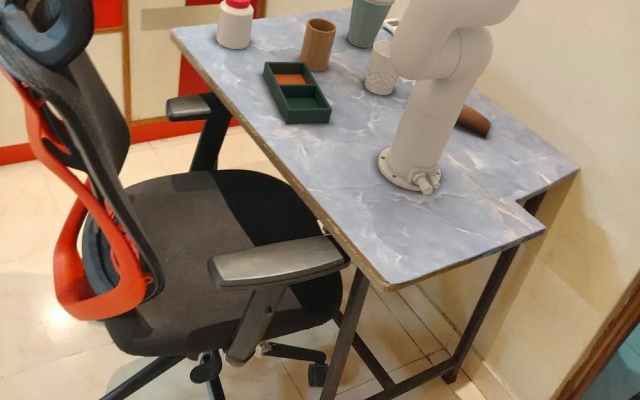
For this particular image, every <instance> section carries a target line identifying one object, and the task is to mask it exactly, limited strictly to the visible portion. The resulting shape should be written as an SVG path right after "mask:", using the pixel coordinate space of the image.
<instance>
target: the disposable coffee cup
mask: <svg viewBox="0 0 640 400" xmlns="http://www.w3.org/2000/svg"><path fill="white" fill-rule="evenodd" d="M395 1H396V0H352V4H351V10H350V11H351V12H350V17H349V18H350V19H349V26H348V33H347V38H348V40H347V41H348V42H349V43H351V44H352V45H353V46H355V47H358V48H363V49H364V48H367V49H368V48H370V47H371V46H373V44H374V43H375V40H376V38H377V36H378V35H379V32H380V31H381V28H382V26H383V24H384V22H385V20H386V18H387V16H388V14H389V12H390V10H391V8H392V6H393V5H394V4H395Z"/></svg>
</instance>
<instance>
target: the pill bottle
mask: <svg viewBox="0 0 640 400" xmlns="http://www.w3.org/2000/svg"><path fill="white" fill-rule="evenodd" d="M218 8H219V9H218V16H217V17H218V19H217V28H216V41H217V43H218V44H219V45H220V46H222V47H225V48H226V49H231V50H243V49H246V48H247V47H249V45H250V43H251V42H250V41H251V35H252V27H253V20H254V13H255V10H254V7H253V6H252V4H251V0H222V1H221V2H220V3H219V7H218Z"/></svg>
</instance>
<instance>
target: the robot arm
mask: <svg viewBox="0 0 640 400" xmlns="http://www.w3.org/2000/svg"><path fill="white" fill-rule="evenodd" d="M520 2H521V0H409V2H408V3H407V6H406V8H405V9H404V12H403V14H402V16H401V18H400V20H399V22H398V24H397V26H396V28H395V30H394V33H393V35H392V37H391V38H392V39H391V40H390V41H391V46H390V61H391V65H392V67H393V69H394V71H395V72H396V73H397V74H398V75H399V77H400V78H402V79H403V80H407V81H415V82H414V84H413V86H412V88H411V90H410V94H409V95H408V99H407V100H406V101H407V102H406V103H405V107H404V109H403V112H402V115H401V118H400V121H399V123H398V126H397V129H396V131H395V134H394V137H393V140H392V143H391V145H390V146H388V147H386V148H384V149H383V150H381V152H380V153H379V154H378V155H379V156H378V158H377V166H378V169H379V171H380V173H381V174H382V175H383V176H384V178H386V180H388V182H391V183H392V184H393V185H395V186H398V187H400V188H402V189H404V190H409V191H415V192H422V194H423V195H424V196H429V195H431V194H432V193H433V192H434V190H437V189H439V188H440V187H441V183H440V181H441V177H442V171H441V168H440V166H439V162H440V160H441V158H442V155H443V153H444V151H445V148H446V146H447V143H448V141H449V140H450V138H451V137H450V136H452V135H451V134H452V132H453V130H454V128H455V126H456V121H457V119H458V116H459V114H460V112H461V110H462V108H463V106H464V105H465V103H466V101H467V100H468V97H469V96H470V93H471V91H472V89H473V88H474V86H475V85H476V83H477V82H478V80H479V79H480V78H481V77H482V75H483V74H484V72H485V70H486V69H487V67H488V65H489V64H490V61H491V59H492V56H493V51H494V39H493V35H492V33H491V31H490V29H489V28H488V27H490V26H496V25H499V24H501V23H503V22H504V21H506V20H507V19H508V18H509V17H510V16H511V14H512V13H514V11H515V9H516V8H517V6H518V5H519V3H520Z"/></svg>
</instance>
